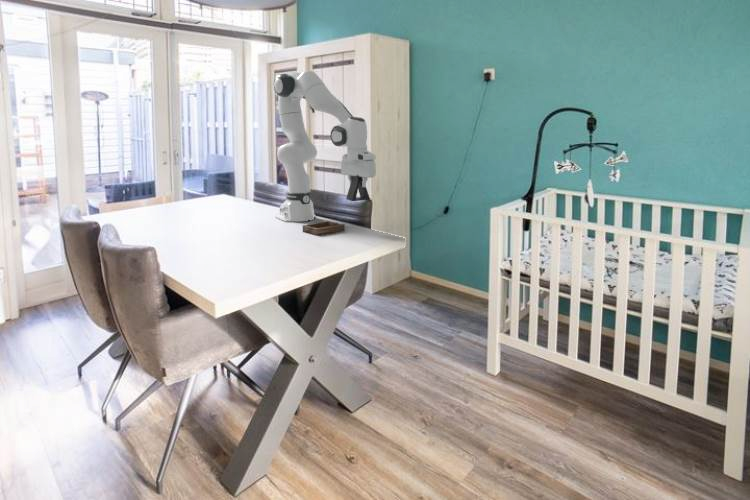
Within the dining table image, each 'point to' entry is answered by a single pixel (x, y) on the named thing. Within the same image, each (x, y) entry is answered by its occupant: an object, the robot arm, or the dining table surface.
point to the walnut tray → (323, 228)
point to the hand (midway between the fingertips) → (357, 186)
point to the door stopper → (355, 187)
